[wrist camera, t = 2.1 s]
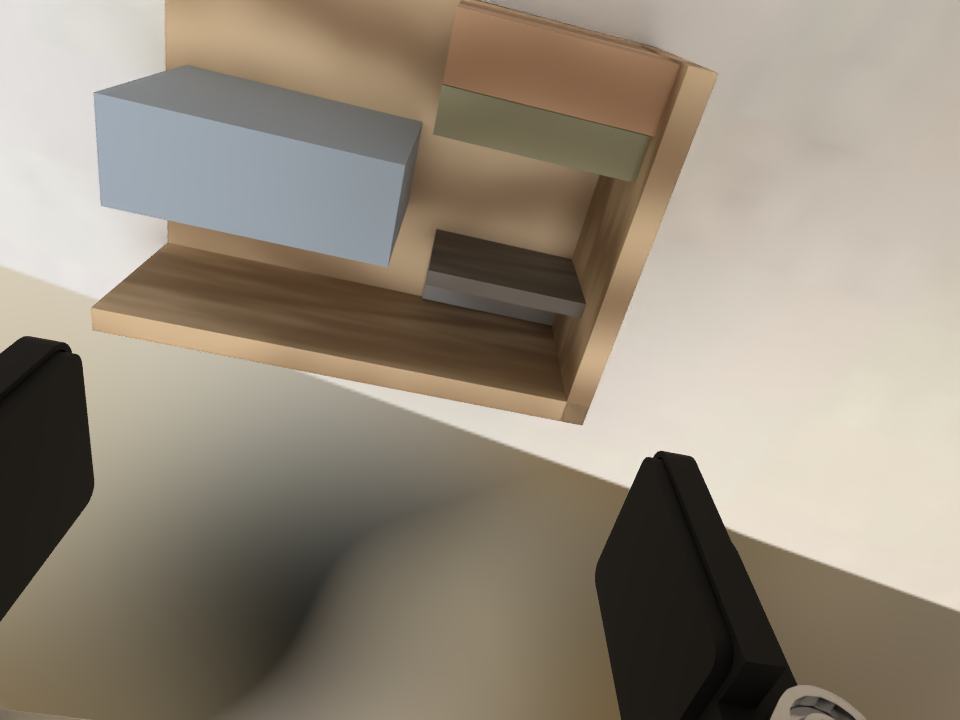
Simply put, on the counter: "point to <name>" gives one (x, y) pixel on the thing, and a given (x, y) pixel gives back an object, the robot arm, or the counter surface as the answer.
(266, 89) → the boxed book
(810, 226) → the counter surface
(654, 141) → the shelf
